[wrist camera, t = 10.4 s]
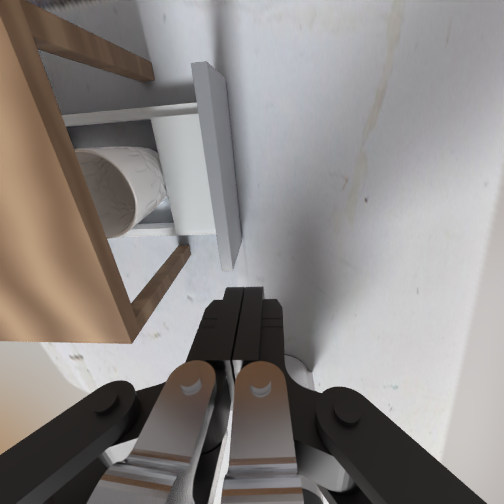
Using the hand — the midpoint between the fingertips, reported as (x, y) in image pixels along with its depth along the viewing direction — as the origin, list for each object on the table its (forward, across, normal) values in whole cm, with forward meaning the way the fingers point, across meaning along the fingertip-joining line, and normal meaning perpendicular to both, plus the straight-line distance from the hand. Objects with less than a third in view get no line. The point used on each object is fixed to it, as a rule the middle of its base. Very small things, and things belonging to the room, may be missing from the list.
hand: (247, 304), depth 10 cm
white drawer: (+22, +13, -2) cm, 26 cm away
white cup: (+22, +14, -2) cm, 27 cm away
